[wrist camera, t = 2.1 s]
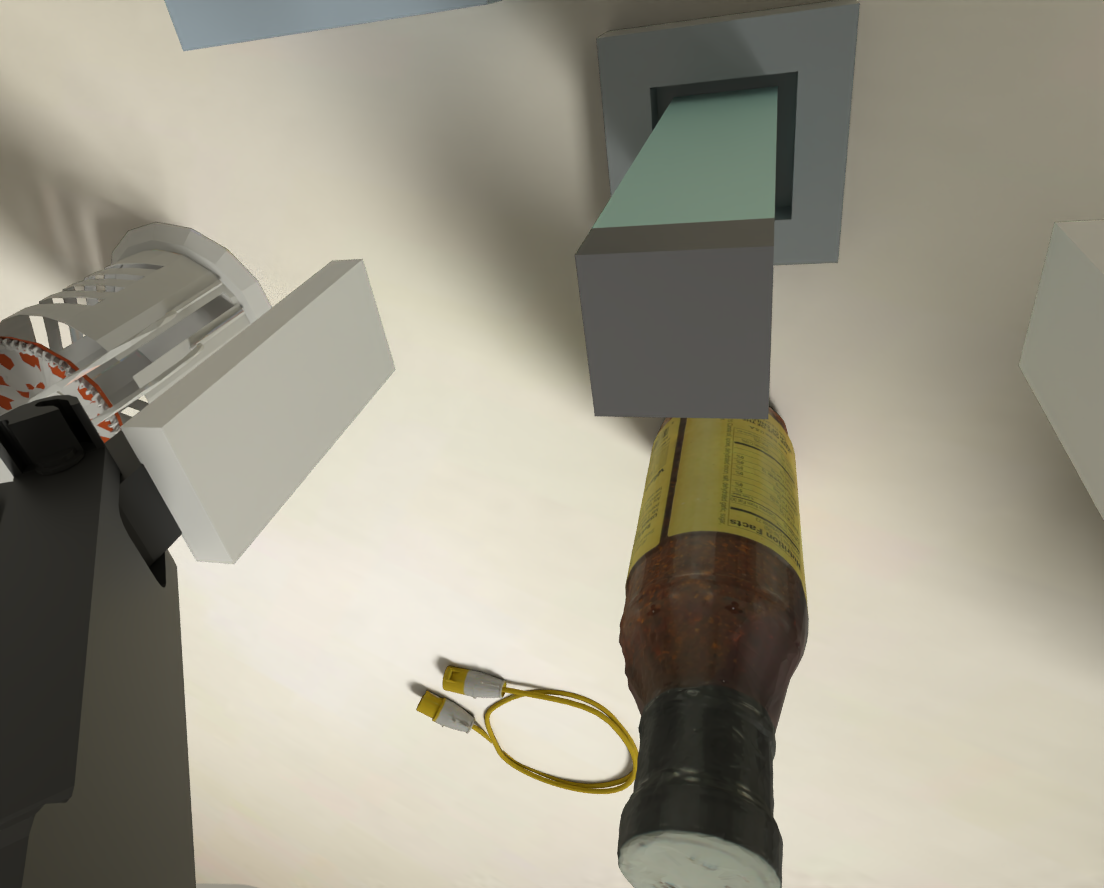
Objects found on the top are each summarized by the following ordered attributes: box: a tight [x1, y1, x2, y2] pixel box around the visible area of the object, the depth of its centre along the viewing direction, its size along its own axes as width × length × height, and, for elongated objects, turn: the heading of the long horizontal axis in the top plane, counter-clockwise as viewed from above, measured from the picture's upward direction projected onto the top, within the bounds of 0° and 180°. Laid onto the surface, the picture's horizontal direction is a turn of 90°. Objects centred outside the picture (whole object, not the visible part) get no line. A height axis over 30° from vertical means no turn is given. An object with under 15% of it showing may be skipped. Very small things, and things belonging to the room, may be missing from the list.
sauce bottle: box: [617, 407, 809, 888], centre depth 26 cm, size 6×6×20 cm
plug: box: [575, 86, 778, 419], centre depth 20 cm, size 4×4×16 cm
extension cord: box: [416, 666, 638, 794], centre depth 51 cm, size 12×16×2 cm
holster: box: [597, 0, 860, 265], centre depth 26 cm, size 8×8×2 cm
